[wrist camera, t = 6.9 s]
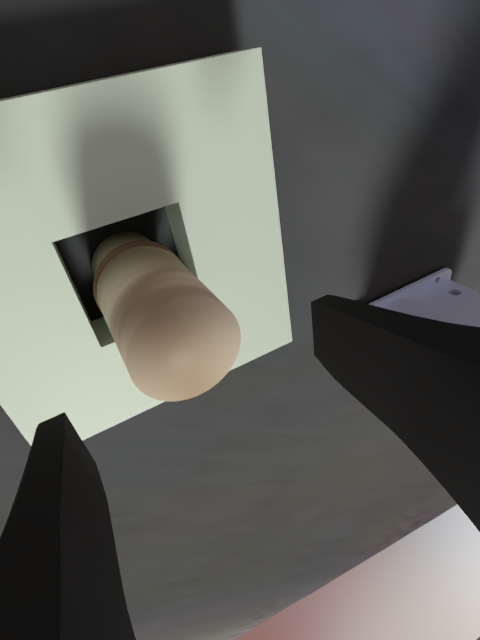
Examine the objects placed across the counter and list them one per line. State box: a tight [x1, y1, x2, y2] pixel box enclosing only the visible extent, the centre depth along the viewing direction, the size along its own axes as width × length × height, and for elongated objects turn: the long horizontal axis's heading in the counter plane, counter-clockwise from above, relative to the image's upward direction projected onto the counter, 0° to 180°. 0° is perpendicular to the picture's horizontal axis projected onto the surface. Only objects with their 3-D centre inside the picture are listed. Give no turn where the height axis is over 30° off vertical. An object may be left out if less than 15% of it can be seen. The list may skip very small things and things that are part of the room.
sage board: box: [0, 47, 292, 446], centre depth 17 cm, size 14×14×2 cm
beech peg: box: [91, 232, 241, 401], centre depth 16 cm, size 4×4×8 cm
